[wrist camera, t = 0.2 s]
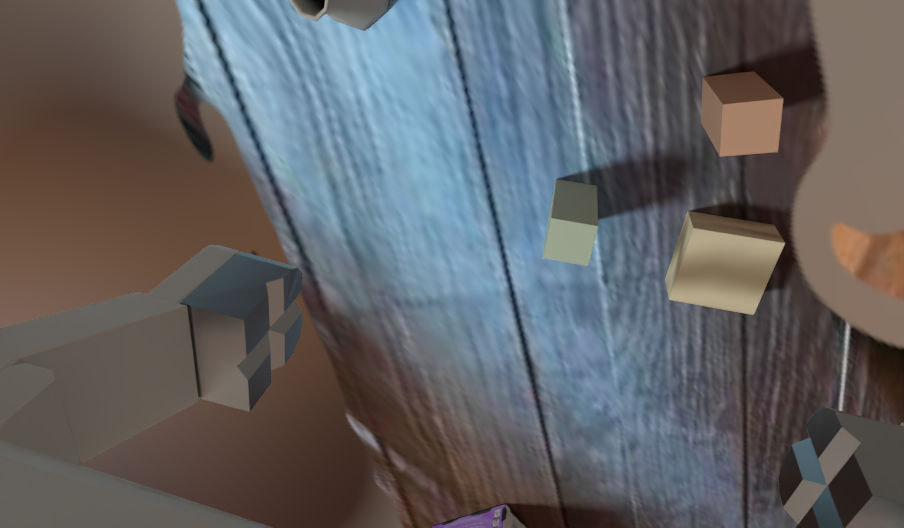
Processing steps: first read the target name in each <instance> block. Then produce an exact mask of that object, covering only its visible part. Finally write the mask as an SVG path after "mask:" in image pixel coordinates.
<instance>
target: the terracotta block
mask: <svg viewBox="0 0 904 528" xmlns="http://www.w3.org/2000/svg"><path fill="white" fill-rule="evenodd" d="M782 107H783V97H781V96H780V95H779V94H778V93H777V92H776V91H775V90H774V89H773V88H772V87H771V86H769V85H768V84H767V83H766V82H765V81H764V80H763V79H762V78H761V77H760V76H758V75H757V74H756V73H755V72H754V71H751V72H742V73H734V74H725V75H716V76H707V77H703V88H702V113H701V123H702V125H703V127H704V129H705V130H706V132H707V134H708V136H709V138H710V140H711V141H712V143H713V145H714V147H715V149H716V150H717V152H718V154H719V156H720V157H721V156H733V155H745V154H758V153H770V152H778V145H779V136H780V126H781V117H782Z"/></svg>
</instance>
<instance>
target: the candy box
mask: <svg viewBox="0 0 904 528" xmlns="http://www.w3.org/2000/svg"><path fill="white" fill-rule="evenodd" d="M432 528H526V527H525V525H524V524H523V523H522V522H521V521H520V520H519V518H518V517H517V516H516V515H515V514H514V512H513V511H512V510H511V509H510V508H509V507H508V506H507V505H506V504H504V505H500V506H497V507H494V508H491V509H488V510H484V511H481V512H478V513H475V514H471V515H468V516H465V517H461V518H458V519H455V520H452V521H448V522H445V523H442V524H438V525H435V526H433V527H432Z"/></svg>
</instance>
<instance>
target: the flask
mask: <svg viewBox="0 0 904 528" xmlns="http://www.w3.org/2000/svg"><path fill="white" fill-rule="evenodd" d="M290 3H291V4H292V5H293V7H294V8H295V9H296V11H297V12H298V13H299V15H300V16H302V17H305V18H308V19H311V20H314V21H318V20H319V19H320V18H321V17H322V16H323V15H324V14H327V15H328V16H330V17H331V18H332V19H333V20H335V21H337V22H340V23H343V24H346V25H349V26H352V27H355V28H358V29H360V30H363V31H365V30H366V29H367V28H368V27H369V26H371V25H372V24H373V23H374V22H375V21H376V20H377V19H379V18H380V17H381V16H382V15H383V14H384V13H385V12H387V9H388V4H389V0H290Z"/></svg>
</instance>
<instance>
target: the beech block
mask: <svg viewBox="0 0 904 528" xmlns="http://www.w3.org/2000/svg"><path fill="white" fill-rule="evenodd" d="M784 245H785V242H784V240H783V239H782V237H781V236H780V234H779V232H778V231H777V229H776V227H775V226H774V225H771V224H765V223H759V222H753V221H747V220H740V219H734V218H728V217H722V216H716V215H709V214H703V213H697V212H691V211H688V212H687V215H686V218H685V221H684V224H683V227H682V230H681V233H680V236H679V239H678V242H677V245H676V248H675V251H674V254H673V257H672V260H671V263H670V266H669V269H668V272H667V275H666V278H665V283H666V287H667V292H668V297H669V300H674V301H679V302H685V303H690V304H696V305H702V306H707V307H713V308H718V309H724V310H729V311H735V312H740V313H746V314H752V315H754V313H755V310H756V308H757V306H758V304H759V301H760V299H761V297H762V294H763V292H764V290H765V288H766V285H767V283H768V281H769V279H770V276H771V274H772V272H773V270H774V267H775V265H776V263H777V260H778V258H779V256H780V254H781V251H782V249H783V247H784Z"/></svg>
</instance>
